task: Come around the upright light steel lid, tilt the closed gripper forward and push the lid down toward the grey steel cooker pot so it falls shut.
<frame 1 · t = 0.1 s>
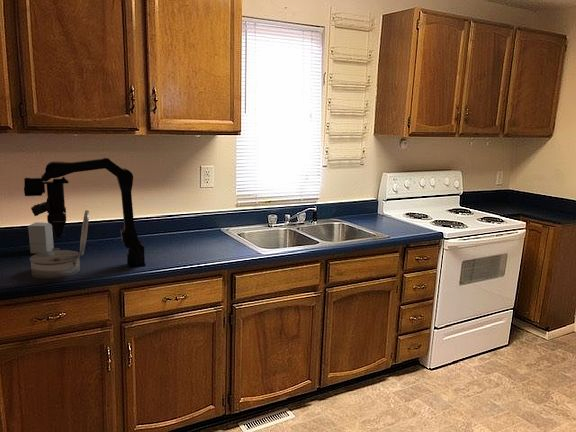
hand: (58, 235, 183), 15 cm above the worktop, tool pointing down, fingers open, 9 cm apart
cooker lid: (84, 232, 188), point 15 cm above the worktop, hinge at 100.0°
cooker pot: (56, 271, 186), on the worktop
supplement box: (42, 251, 213), on the worktop
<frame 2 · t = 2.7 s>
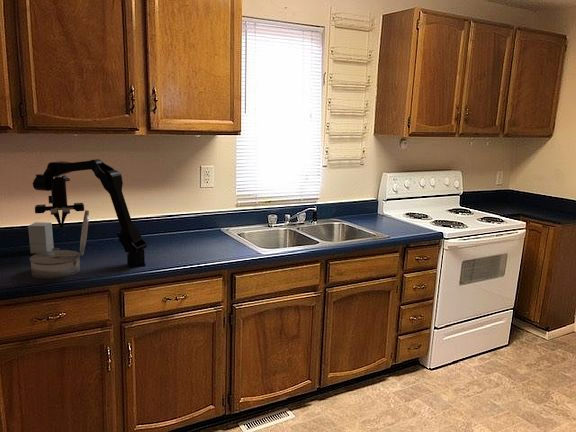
hand: (61, 227, 203), 13 cm above the worktop, tool pointing down, fingers closed
nothing on the worktop moved.
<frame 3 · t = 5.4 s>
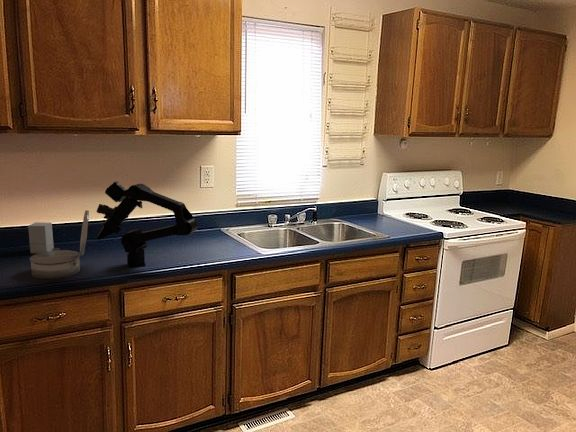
hand: (97, 239, 191), 12 cm above the worktop, tool tilted 45°, fingers closed
nothing on the worktop moved.
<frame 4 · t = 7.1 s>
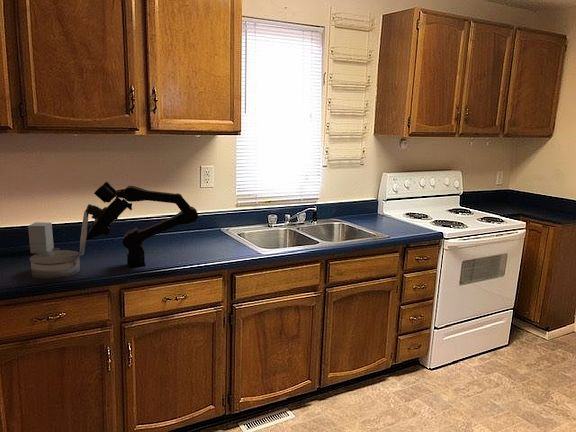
hand: (85, 239, 188), 12 cm above the worktop, tool tilted 45°, fingers closed, pressing on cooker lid
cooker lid: (84, 232, 188), point 15 cm above the worktop, hinge at 99.3°, touching gripper
everything else where it was.
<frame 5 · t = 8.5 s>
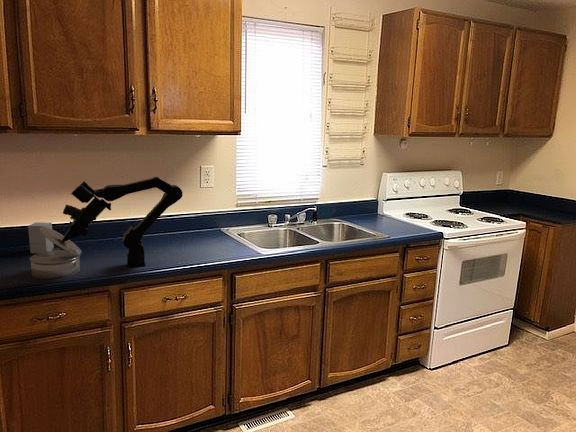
hand: (63, 240, 185), 12 cm above the worktop, tool tilted 45°, fingers closed, pressing on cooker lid
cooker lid: (60, 240, 185), point 12 cm above the worktop, hinge at 39.2°, touching gripper
everything else where it was.
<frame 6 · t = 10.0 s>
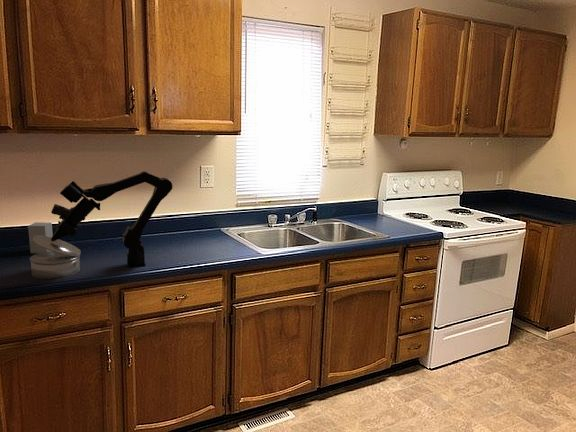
hand: (51, 240, 183), 13 cm above the worktop, tool tilted 45°, fingers closed
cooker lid: (57, 245, 184), point 10 cm above the worktop, hinge at 24.4°
everything else where it was.
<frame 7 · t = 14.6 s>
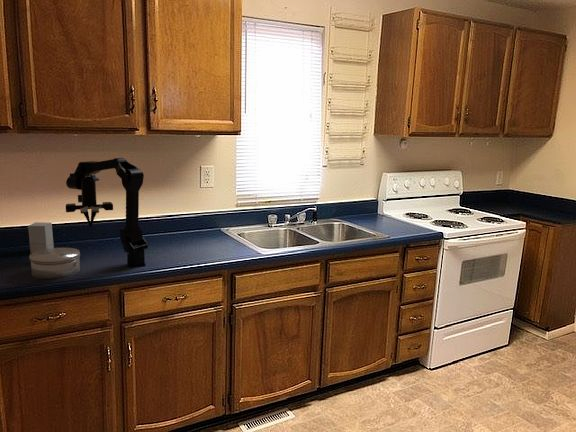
hand: (90, 226, 206), 13 cm above the worktop, tool pointing down, fingers closed
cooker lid: (55, 254, 185), point 7 cm above the worktop, hinge at -0.1°
everything else where it was.
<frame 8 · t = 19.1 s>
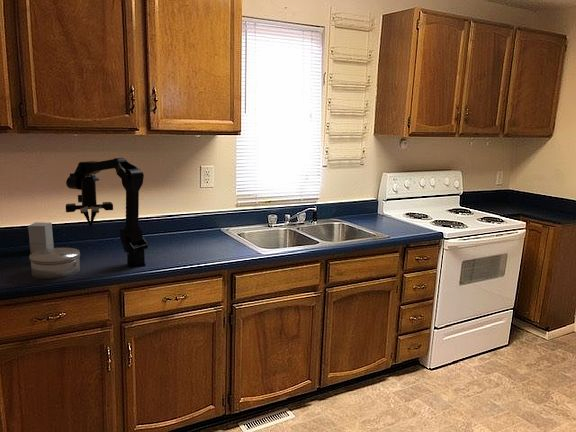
hand: (90, 226, 206), 13 cm above the worktop, tool pointing down, fingers closed
nothing on the worktop moved.
at the end: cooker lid at +0° (first picture: +100°); the gripper is holding nothing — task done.
